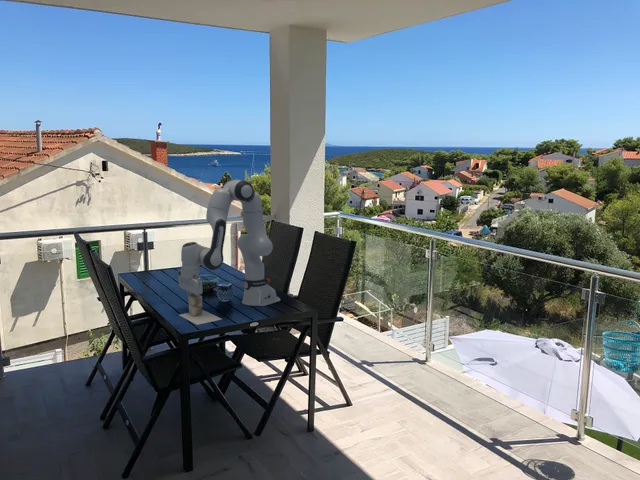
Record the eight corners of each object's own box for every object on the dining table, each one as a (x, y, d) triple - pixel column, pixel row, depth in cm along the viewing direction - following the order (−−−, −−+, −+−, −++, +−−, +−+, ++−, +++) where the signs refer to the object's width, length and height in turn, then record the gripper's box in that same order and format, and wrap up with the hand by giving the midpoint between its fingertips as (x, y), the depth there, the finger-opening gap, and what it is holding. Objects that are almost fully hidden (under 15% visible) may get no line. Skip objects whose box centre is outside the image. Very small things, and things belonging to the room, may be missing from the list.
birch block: (197, 312, 251) (197, 294, 249) (202, 314, 247) (202, 296, 246) (188, 314, 247) (188, 295, 246) (193, 316, 244) (193, 297, 242)
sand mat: (203, 310, 256) (203, 309, 256) (222, 320, 241) (222, 319, 241) (178, 315, 246) (178, 314, 246) (197, 325, 232) (197, 324, 232)
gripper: (205, 276, 242) (206, 302, 244) (187, 269, 257) (187, 294, 259) (194, 278, 238) (194, 304, 240) (176, 270, 253) (176, 296, 255)
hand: (190, 299), depth 250 cm, fingers closed
